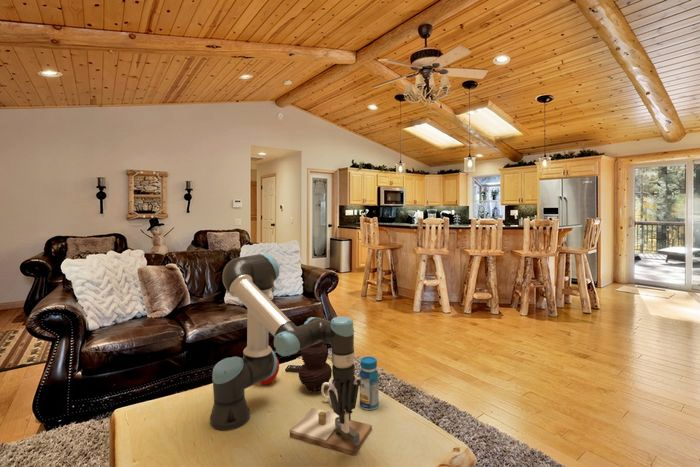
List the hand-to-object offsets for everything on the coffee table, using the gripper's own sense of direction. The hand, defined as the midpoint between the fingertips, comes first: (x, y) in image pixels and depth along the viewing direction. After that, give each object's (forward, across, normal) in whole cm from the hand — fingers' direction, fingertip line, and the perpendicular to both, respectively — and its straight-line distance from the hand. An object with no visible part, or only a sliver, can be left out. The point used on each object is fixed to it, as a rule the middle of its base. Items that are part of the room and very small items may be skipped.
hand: (345, 430), depth 130 cm
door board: (+8, +2, +12) cm, 15 cm away
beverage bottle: (+8, +25, +19) cm, 32 cm away
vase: (+8, +14, +45) cm, 48 cm away
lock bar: (+6, +3, +4) cm, 8 cm away
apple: (+7, -1, +64) cm, 64 cm away
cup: (+8, +14, +29) cm, 33 cm away
